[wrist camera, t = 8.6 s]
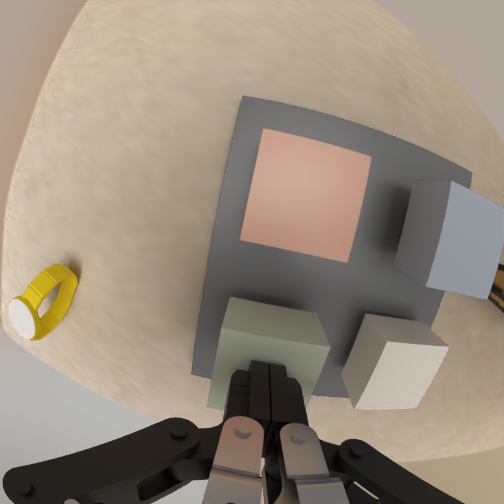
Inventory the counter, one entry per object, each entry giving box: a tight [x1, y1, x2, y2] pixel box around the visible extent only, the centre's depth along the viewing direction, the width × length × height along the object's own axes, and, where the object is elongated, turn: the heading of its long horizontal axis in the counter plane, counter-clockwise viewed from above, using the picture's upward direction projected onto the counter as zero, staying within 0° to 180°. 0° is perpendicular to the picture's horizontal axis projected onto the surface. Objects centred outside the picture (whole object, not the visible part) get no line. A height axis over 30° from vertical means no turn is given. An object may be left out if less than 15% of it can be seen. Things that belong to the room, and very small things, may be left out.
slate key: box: [393, 181, 504, 300], centre depth 12 cm, size 5×5×4 cm
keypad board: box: [191, 96, 472, 398], centre depth 16 cm, size 16×18×4 cm
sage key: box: [207, 297, 331, 410], centre depth 13 cm, size 5×5×4 cm
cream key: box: [341, 313, 449, 410], centre depth 15 cm, size 5×5×4 cm
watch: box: [9, 264, 79, 341], centre depth 16 cm, size 6×3×6 cm, turn 144°
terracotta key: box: [240, 128, 371, 263], centre depth 13 cm, size 5×5×4 cm
